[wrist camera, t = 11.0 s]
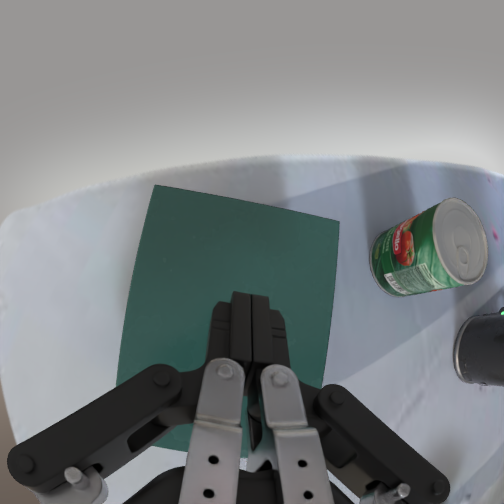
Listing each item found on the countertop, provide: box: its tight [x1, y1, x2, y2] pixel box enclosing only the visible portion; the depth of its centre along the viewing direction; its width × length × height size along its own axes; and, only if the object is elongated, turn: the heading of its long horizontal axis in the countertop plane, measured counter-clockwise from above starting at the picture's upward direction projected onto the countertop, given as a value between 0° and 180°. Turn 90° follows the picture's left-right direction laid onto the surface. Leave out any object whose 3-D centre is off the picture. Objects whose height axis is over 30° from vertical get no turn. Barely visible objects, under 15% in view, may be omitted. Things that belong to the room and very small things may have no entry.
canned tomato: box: [370, 198, 488, 297], centre depth 27 cm, size 8×8×11 cm
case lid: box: [116, 185, 340, 458], centre depth 18 cm, size 16×13×1 cm
